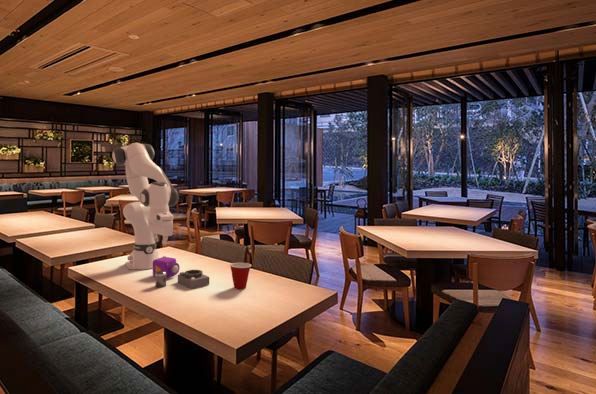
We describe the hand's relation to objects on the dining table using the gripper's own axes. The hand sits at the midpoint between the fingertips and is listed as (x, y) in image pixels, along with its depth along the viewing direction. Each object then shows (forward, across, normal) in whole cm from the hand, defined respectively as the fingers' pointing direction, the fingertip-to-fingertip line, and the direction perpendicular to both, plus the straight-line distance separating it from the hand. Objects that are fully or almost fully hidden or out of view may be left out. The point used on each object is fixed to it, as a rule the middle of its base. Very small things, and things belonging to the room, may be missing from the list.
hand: (160, 242), depth 183 cm
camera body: (+22, +7, +14) cm, 27 cm away
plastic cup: (+22, +28, +28) cm, 45 cm away
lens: (+22, 0, 0) cm, 22 cm away
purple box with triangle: (+22, -14, +10) cm, 28 cm away
